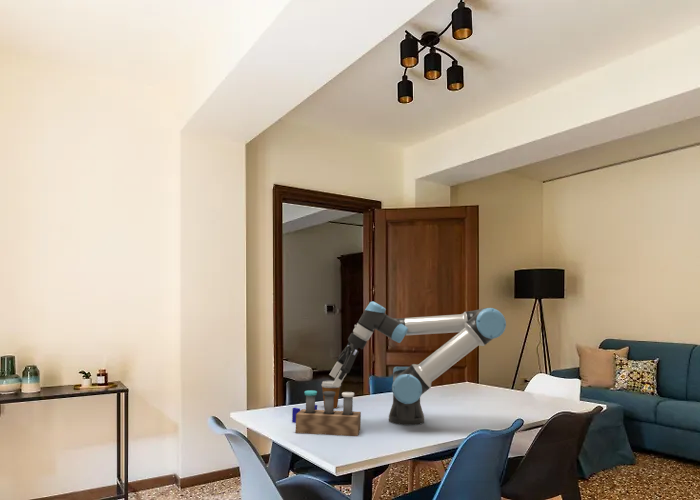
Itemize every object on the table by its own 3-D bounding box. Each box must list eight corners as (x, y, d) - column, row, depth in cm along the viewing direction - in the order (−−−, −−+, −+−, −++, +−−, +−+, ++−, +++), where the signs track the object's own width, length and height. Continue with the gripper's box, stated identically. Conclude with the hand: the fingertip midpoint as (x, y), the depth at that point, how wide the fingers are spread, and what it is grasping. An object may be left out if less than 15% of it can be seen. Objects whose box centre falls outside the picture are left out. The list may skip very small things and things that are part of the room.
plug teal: (317, 413, 207) (317, 390, 208) (314, 416, 202) (315, 392, 203) (305, 413, 208) (306, 390, 209) (302, 415, 203) (303, 392, 204)
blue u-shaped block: (299, 424, 215) (300, 409, 216) (292, 422, 218) (292, 408, 219) (319, 419, 224) (319, 405, 225) (311, 418, 227) (312, 404, 228)
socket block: (360, 429, 207) (360, 411, 207) (357, 436, 197) (357, 417, 198) (301, 426, 210) (302, 409, 211) (295, 432, 200) (296, 414, 201)
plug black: (335, 414, 206) (336, 391, 207) (333, 417, 201) (334, 393, 202) (324, 414, 207) (324, 390, 208) (321, 416, 202) (322, 392, 203)
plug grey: (354, 415, 205) (355, 392, 206) (353, 418, 200) (353, 394, 201) (342, 414, 206) (343, 391, 207) (340, 417, 201) (341, 393, 202)
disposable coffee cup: (332, 410, 243) (332, 384, 244) (316, 407, 249) (317, 382, 250) (344, 407, 251) (345, 382, 252) (329, 404, 256) (329, 380, 258)
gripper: (348, 326, 227) (323, 368, 226) (356, 338, 202) (328, 385, 202) (362, 335, 228) (338, 376, 227) (372, 347, 203) (345, 394, 203)
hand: (333, 381), depth 215 cm, fingers open, 13 cm apart
